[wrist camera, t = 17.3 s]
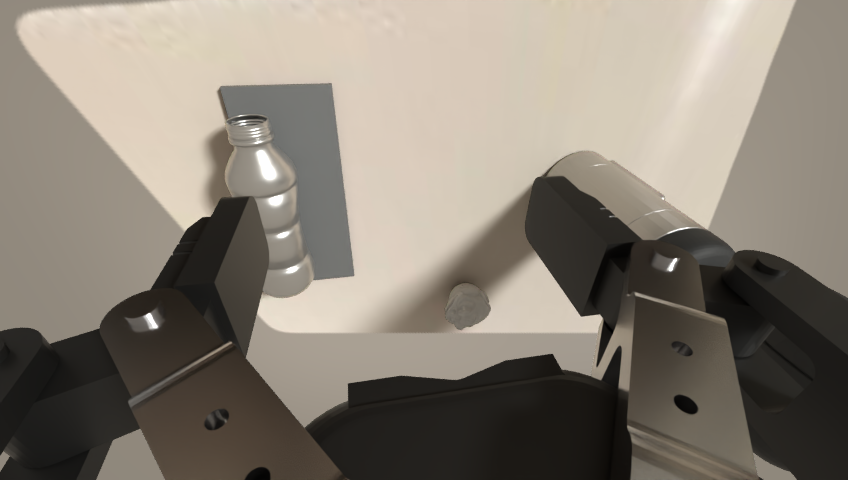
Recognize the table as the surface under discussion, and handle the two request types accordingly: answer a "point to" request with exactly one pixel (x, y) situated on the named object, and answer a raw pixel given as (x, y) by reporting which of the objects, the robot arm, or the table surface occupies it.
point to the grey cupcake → (466, 306)
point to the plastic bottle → (270, 201)
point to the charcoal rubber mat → (306, 163)
